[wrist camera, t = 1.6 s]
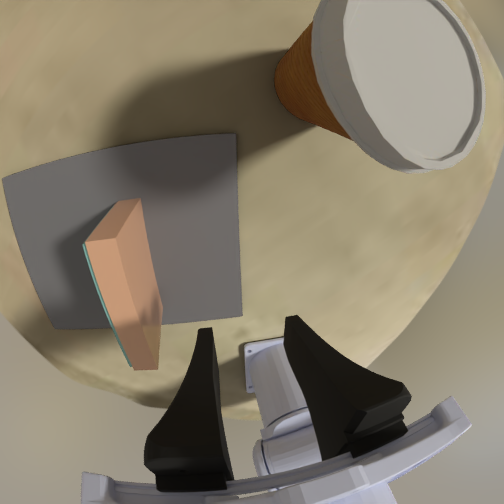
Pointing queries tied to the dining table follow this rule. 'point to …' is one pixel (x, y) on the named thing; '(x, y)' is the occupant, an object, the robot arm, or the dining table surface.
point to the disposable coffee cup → (388, 80)
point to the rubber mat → (155, 217)
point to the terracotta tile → (127, 282)
